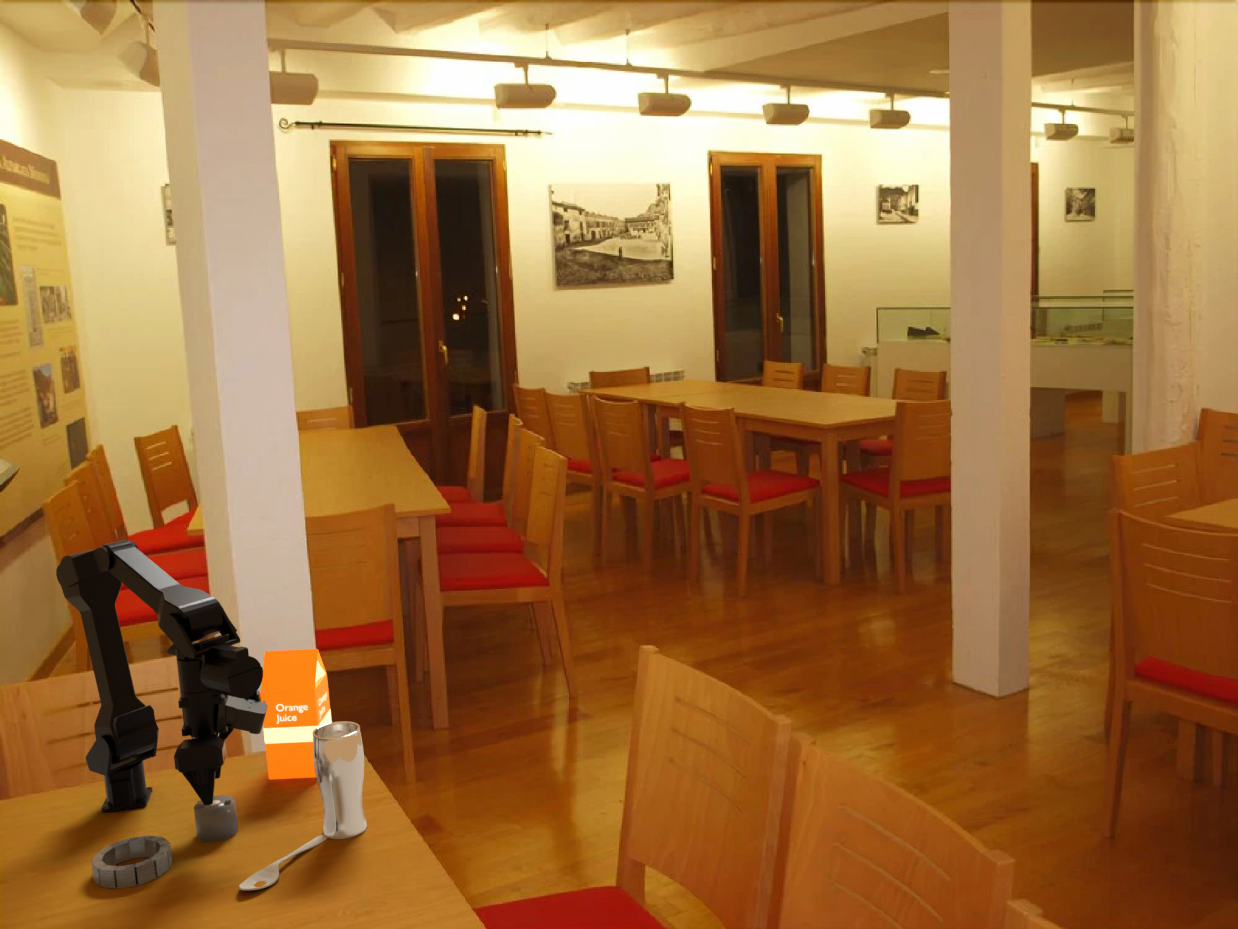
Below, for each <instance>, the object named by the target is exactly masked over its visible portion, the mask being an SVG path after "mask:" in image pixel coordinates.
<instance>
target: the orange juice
mask: <svg viewBox="0 0 1238 929" xmlns="http://www.w3.org/2000/svg"><path fill="white" fill-rule="evenodd" d="M324 665H325V664H324V662H323V660H322V657H321V654H320V651H319V649H318V648H309V649H307V648H306V649H288V650H265V651H264V657H263V666H262V668H263V679H262V683H261V685H260V687H261V688H260V691H259V692H260V696H261V701H262V702H263V701H266V704H267V705H268V707H267V712H266V716H265V719H264V723H263V726H262V730H263V738H264V740H263V741H264V745H265V746H264V747H265V756H266V764H267V765H266V766H267V774H268V780H287V779H291V780H292V779H306V778H307V779H309V778H310V779H311V778H316V775H315V770H314V762H313V734H312V733H313V731H314V730H315V729H316V728H317V727H319V726H321V725H324V724H327V723H332V722H333V720H332V710H331V705H330V704H331V702H330V690H329V682H328V674H327V671H326V667H325V666H324Z"/></svg>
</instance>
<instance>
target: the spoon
mask: <svg viewBox="0 0 1238 929" xmlns="http://www.w3.org/2000/svg"><path fill="white" fill-rule="evenodd" d="M327 839H328V837H326V836H325V835H324V833H323V834H321V835H317V836H315V837H313V838H312V839H311V840H310V841H308V842H306V843H304V844H303V845H301V846H300V847H298V848H297V849H295V850H294V851H292V852H290V853H288V854H287V855H286V856H283V857H282V858H279V859H277V860H276V861H274V862H271V863H270V864H269V865H267V866H265V867H263V868H262V869H260V870H258V871H255V873H253V874H252V875H250V876H249V877H248V878H246V879H245V880H244V881H242V882H241V883H240V884H239V885H238V889H239V890H240V891H257V890H262V889H265V888H267V887H270V886H272V885H273V884H276V883H277V881H278V880H279V878H280V871H279V870H280V868H279V866H280V865H282V863H284V862H286V861H287V860H289V859H291V858H293V857H294V856H296V855H298V854H301V853H303V852H306V851H308V850H311V849H313V848H315V847H317V846H319V845H320V844H322V843H323V842H324V841H326V840H327ZM258 882H265V884H264V885H262V886H255V885H256V884H257V883H258Z"/></svg>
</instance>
